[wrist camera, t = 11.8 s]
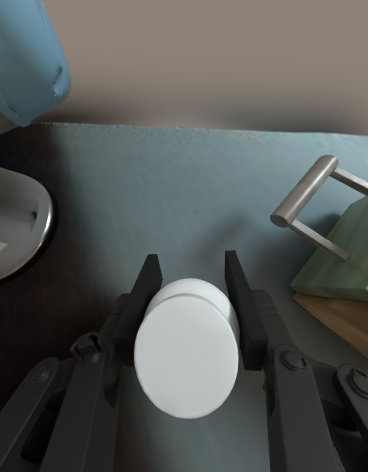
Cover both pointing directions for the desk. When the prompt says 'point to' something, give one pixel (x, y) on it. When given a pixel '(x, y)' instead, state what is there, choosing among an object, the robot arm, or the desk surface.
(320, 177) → the storage drawer
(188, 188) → the desk surface
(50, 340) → the desk surface
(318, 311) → the cabinet
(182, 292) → the pill bottle
